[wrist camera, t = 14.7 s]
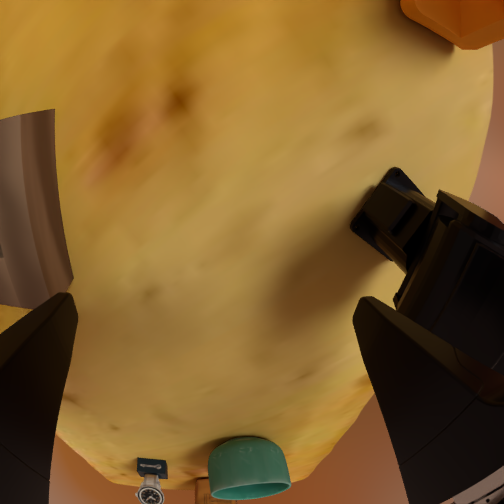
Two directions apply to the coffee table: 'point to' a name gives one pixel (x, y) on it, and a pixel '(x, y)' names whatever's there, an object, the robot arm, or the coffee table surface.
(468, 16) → the bracket
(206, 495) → the coffee package
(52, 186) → the hole block
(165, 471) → the watch
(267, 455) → the mug
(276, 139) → the coffee table surface
